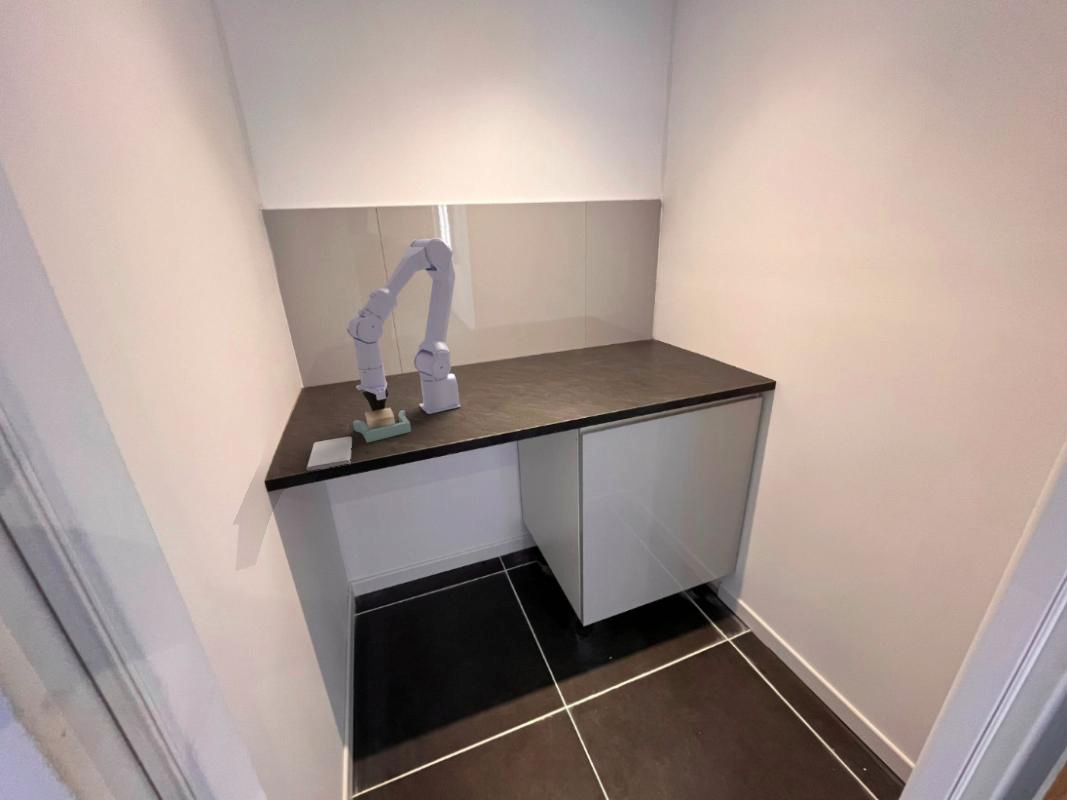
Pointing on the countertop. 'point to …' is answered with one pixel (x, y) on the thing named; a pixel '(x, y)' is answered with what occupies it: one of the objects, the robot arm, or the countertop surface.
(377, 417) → the birch block
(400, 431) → the dock
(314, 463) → the hard drive
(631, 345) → the countertop surface
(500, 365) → the countertop surface
